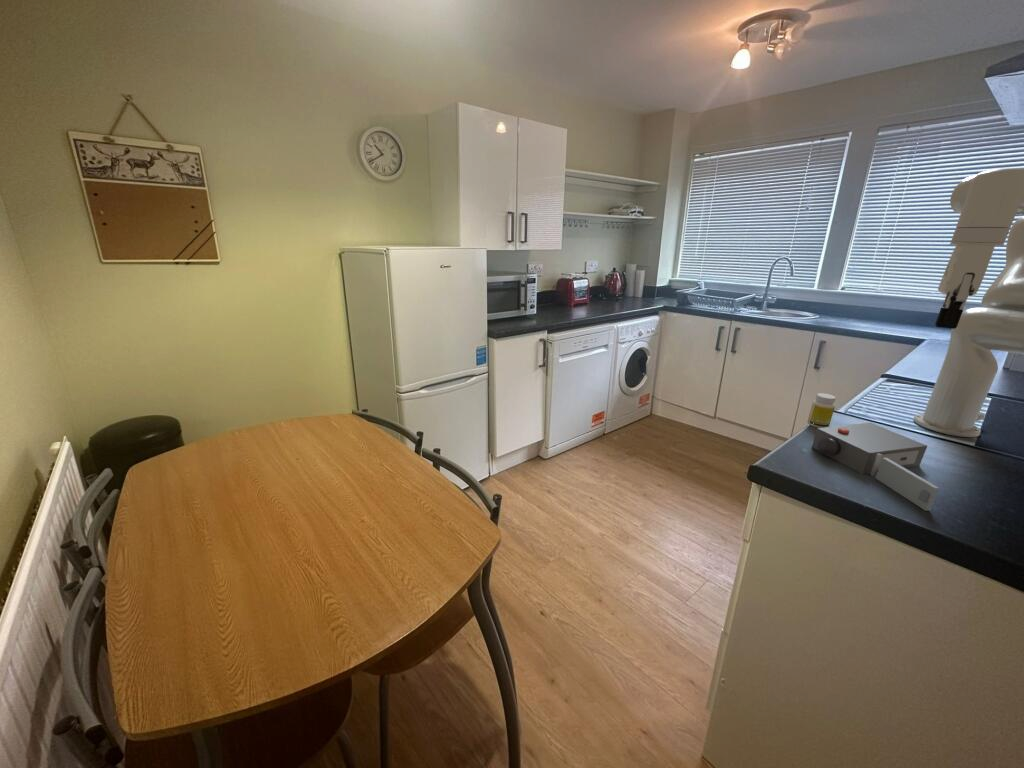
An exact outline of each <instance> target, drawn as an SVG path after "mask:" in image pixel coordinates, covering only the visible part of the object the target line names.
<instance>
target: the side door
mask: <svg viewBox="0 0 1024 768" xmlns="http://www.w3.org/2000/svg"><path fill="white" fill-rule="evenodd" d="M874 477H875V479H876V480H877V481H879V482H881V483H882V484H883V485H885V486H887V487H888V488H889V489H891V490H893V491H894V492H895V493H897V494H898V495H901V496H902V497H904V498H905V499H907V500H908V501H910V502H911V503H913V504H915V505H916V506H917V507H919V508H921V509H922V510H923V511H925V512H926V511H931V510H932V507H933V505H934V503H935V499H936V498H937V495H938V493H939V490H940V487H939V486H936V485H935V484H933V483H931V482H930V481H928V480H926V479H925V478H923V477H921V476H919V475H917V474H916V473H914V472H913V471H911V470H909V469H908V468H904V467H902V466H900V465H899V464H897V463H895V462H893V461H892V460H890V459H888V458H882V461H881V463H880V466H879V469H878V472H876V474H875V476H874Z"/></svg>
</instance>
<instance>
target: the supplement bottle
mask: <svg viewBox="0 0 1024 768" xmlns="http://www.w3.org/2000/svg"><path fill="white" fill-rule="evenodd" d="M835 401H836V396H835V395H832V394H829V393H823V392H822V393H820V392H819V393H816V396H815V399H814V400H813V401H812V404H811V408H810V411H809V415H808V419H807V424H808V425H809V426H811V427H813V428H816V429H817V428H824V427H830V424H831V421H832V419H833V415H834V411H835V407H836V405H835V404H834V403H835ZM817 420H818V421H817ZM813 423H814V424H813ZM811 424H813V425H811Z"/></svg>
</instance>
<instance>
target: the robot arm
mask: <svg viewBox="0 0 1024 768" xmlns="http://www.w3.org/2000/svg"><path fill="white" fill-rule="evenodd" d="M949 202H950V203H949V204H950V207H951V210H952V211H953V212H954V213H956V214H960V216H959V218H958V221H957V224H956V226H955V229H954V232H953V235H952V238H951V240H950V243H949V245H951V246H953V245H955V247H954V249H953V250H952V253H951V255H950V258H949V260H948V262H947V265H946V268H945V269H944V272H943V275H942V276H941V280H940V283H939V284H938V288H937V291H939V293H941V294H942V295H945V296H944V299H943V300H944V301H943V304H942V306H941V307H940V310H939V313H938V315H937V318H936V320H935V323H934V325H935V327H937V328H944V329H950V330H951V331H950V337H949V344H948V348H947V352H946V355H945V357H944V360H943V362H942V365H941V368H940V370H939V373H938V376H937V378H936V380H935V384H934V386H933V389H932V391H931V395H930V396H929V400H928V403H927V405H926V407H925V410H924V412H923V413H918V414H916V415H914V416H913V422H914V423H915V424H917V425H918V426H920V427H923V428H925V429H927V430H931V431H934V432H937V433H940V434H945V435H950V436H955V437H962V438H977V437H979V436H980V434H981V433H982V432H981V431H982V430H981V429H980V428H979V427H977V426H976V425H975V424H976V422H977V421H983V420H985V417H986V415H985V414H984V413H983V412H982V413H981V410H982V408H983V406H984V404H985V401H986V399H987V396H988V394H989V391H990V390H991V387H992V385H993V382H994V379H995V378H996V375H997V373H998V370H999V364H998V360H997V359H996V357H995V356H994V354H993V352H992V351H1000V352H1007V353H1012V354H1019V355H1024V168H1017V167H1016V168H1014V167H1013V168H1012V167H1011V168H999V169H990V170H984V171H981V172H979V173H978V174H977V175H971V176H968V177H965V178H964V179H962V180H961V181H959V183H958V184H957V185H956V186H955V188H954V189H953V190H952V193H951V194H950V201H949ZM1016 215H1022V216H1021V217H1019V218H1017V220H1015V217H1016ZM1014 220H1015V222H1013V221H1014ZM1006 240H1007V242H1006ZM1005 242H1006V247H1005V248H1006V249H1005V266H1004V268H1003V269H1002V271H1001V272H1000V273H999V274H998V276H997V277H996V278H995V279H994V281H993V282H992V284H990V286H989V287H988V289H987V290H986V291H985V292H984V295H983V297H982V298H981V307H971V308H967V309H964V308H965V305H966V303H967V300H968V298H969V297H973V296H975V295H976V294H978V291H979V289H980V287H981V285H982V282H983V280H984V278H985V275H986V272H987V270H988V268H989V264H990V261H991V258H992V257H993V253H994V250H995V247H996V246H997V247H998V246H999V247H1001V246H1002V247H1003V246H1004V245H1005Z"/></svg>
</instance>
